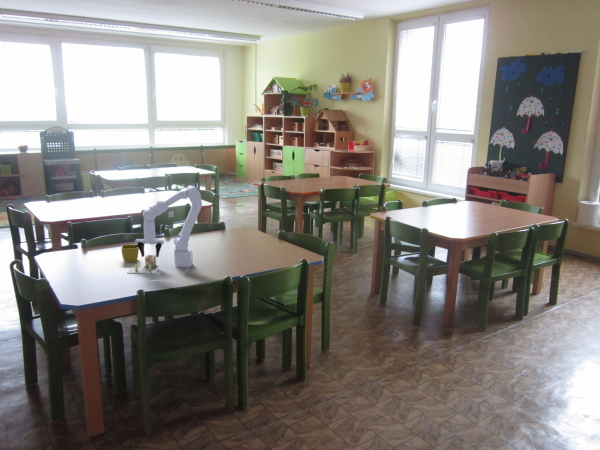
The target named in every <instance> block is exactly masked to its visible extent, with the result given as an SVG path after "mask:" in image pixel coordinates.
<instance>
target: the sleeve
mask: <svg viewBox="0 0 600 450" xmlns="http://www.w3.org/2000/svg"><path fill="white" fill-rule="evenodd" d="M156 258H157V257H156V254H146V256H144V263H145V265H144V267H145V268H149V265H151V268H154V267H155V266H156V265H157V259H156Z"/></svg>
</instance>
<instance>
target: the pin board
mask: <svg viewBox="0 0 600 450" xmlns="http://www.w3.org/2000/svg"><path fill="white" fill-rule="evenodd" d="M159 270H160V269H159V268H156V269H151V265H149V268H143V267H142V268H141V267H138V264H135V265H134V267H131V268H130V270H129V271H127V274H129V275H130V274H131V275H133V274H134V275H155V274H156V273H157V272H158V271H159Z"/></svg>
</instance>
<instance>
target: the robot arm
mask: <svg viewBox="0 0 600 450" xmlns="http://www.w3.org/2000/svg"><path fill="white" fill-rule="evenodd" d="M182 199H183V200H187V199H188V200H189V201H190V202H191V206H190V209H189V211H188V214H187V216H186V218H185V221H184V223H183V225H182V228H181V230H180V231H179V233H178V234H177V236H176V237H175V238H174V240H173V244H174V246H175V248H174V249H173V251H174V253H173V254H174V255H173V256H174V264H173V265H172V267H179V268H181V267H183V268H191V267H192V265H193V264H194V263H193V261H194V260H193V250H192V249H189V240H190V234H191V232H192V230H193V228H194V225H195V223H196V221H197V218H198V216H199V213H200V212H201V209H202V206H203V203H202V202H203V201H202V194H201V192H200V191H199V189H198V188H196V187H195V186H194V185H187V186H186V187H183V188H182V189H180V190H179V191H177V192H175V194H173V195H171V196H170V197H169V198H167V199H166V200H158V201H156V203H155V204H153V205H152V206H149V207H148V208H146V209H144V210H143V212H142V218H143V238H136V239H135V240H134V243H135V244H137V247H138V248H139V252H140V254H141V258H143V257H144V258H145V244H153V245H155V255H156V258H159V256H160V251H161V248H162V246H163V245H164V243H165V240H164V239H158V238H156V224H155V219H156V217H158V216H160V215H161V214H163V213H164V212H166V211H167V210H169V209H168V207H170V206H171V205H173V204H175V203H176V202H178V201H180V200H182Z"/></svg>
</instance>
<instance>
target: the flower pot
mask: <svg viewBox="0 0 600 450" xmlns="http://www.w3.org/2000/svg"><path fill="white" fill-rule="evenodd" d="M137 244H138V243H135V244H122V245H121V248H120V249H121V256H122V260H123V261H124V262H125V263H127V264H128V263H137V260H138V257H139V252H140V250H139V248H138V247H137Z"/></svg>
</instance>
